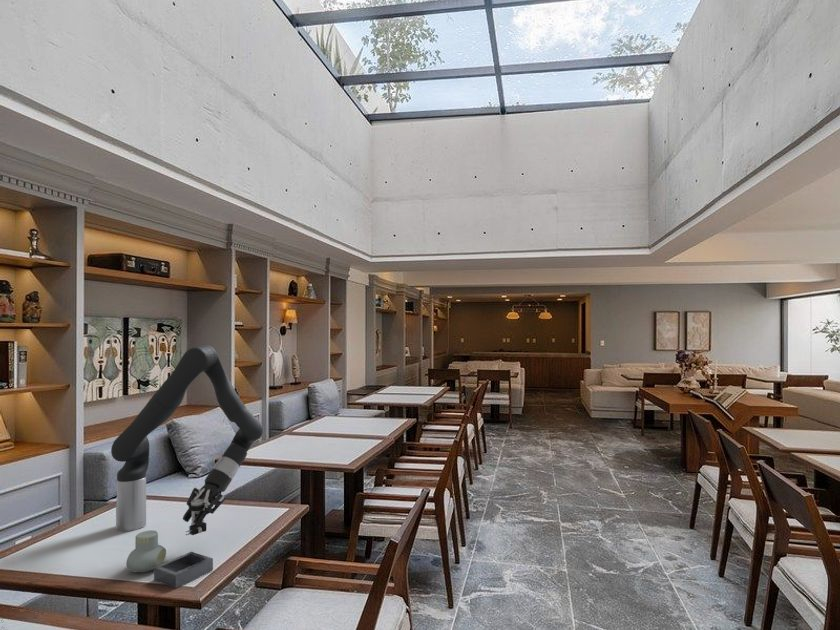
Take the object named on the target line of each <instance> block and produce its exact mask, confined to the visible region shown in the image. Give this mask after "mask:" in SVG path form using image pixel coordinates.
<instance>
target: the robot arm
mask: <svg viewBox="0 0 840 630" xmlns="http://www.w3.org/2000/svg"><path fill="white" fill-rule="evenodd" d="M203 372H204V374H206V376H207V377H208V378H209V380H210V381H211V384H212V386H213V389H214V390H213V391H214V393H215V397H216V401H217V402H218V405H219V407H220V409H221V410H222V412H223V413H224V415H225V417H226V418H227V419H228V420H229V422H230V423H234V424H235V425H236V426H237V427H238V430H236V431H237V432H236V433H235V435H234V436H233V439H232V440H231V442H230V444H229V446H228V447H227V448H226V450H225V451H224V452H223V454H222V455H221V457H220V458H219V459H218V460H217V461H216V463H215V464H214V466H213V467H212V468H211V470H210V471H209V473H208V474H207V476H206V477H205V479H204V485H203V486H201V488H197V487H194V488H193V489H192V491H191V493H190V496H189V498H188V500H187V502H186V505H187V506H188V505H189V504H190V503H191V501H193V500H196V499H203V500H204V501H203V504H204V506H203V507H202V511H200V512H199V513H198V515H197V516H196V518H195V519H194V521H193V522H194V523H195V524H196V525H199V524H200V523H201V522H202V521H203V520H205V518H206V516H207V515H209V514H214V513H215V512H216V511H217V509H218V508H220V506H221V505H222V504H223V502H224V501H226V496H224V495H223V494H222V493H224V492H226V490H227V489H228V487H230V486H229V485H230V483H232V481H233V479H234V478H235V477H236V474H237V473H238V471H239V469H240V467H241V466H242V464H243V462H244V461H245V460H246V457H247V455H248V451H249V449H250V448H251V446H252V445H253V443H254V442H257V441H258V440H259V439H260V438H262V436H263V433H264V432H263V431H264V429H263V427H262V425H261V422H260V421H259V420H258V418H257V417H255V415H253V413H252V412H251V411H249V410H248V408H247V407H246V406H245V404H244V402H243V401H242V399H241V398H240V396H239V395H238V392H237V391H236V390H235V387H234V386H233V385H232V382H231V380H230V379H229V376H228V375H227V372H226V370H225V368H224V366H223V363H222V361H221V358H220V357H219V354H218V352H217V351H216V349H215V348H214V347H213V346H211V345H209V344H200V345H196V346H192V347H190V348H189V349H187V350H186V351H185V352H184V353H183V355H182V356H181V358H180V359H179V362H178V363H177V365H176V367H175V368H174V370H172V372H171V374H170V375H169V376H168V378H166V379H165V380H164V382H163V383H162V384H161V386H160V387H159V388H158V389H157V390H156V391H155V392H154V393H153V395H152V396H151V397H150V399H149V400H148V401H147V403H146V404H145V406H144V407H142V409H141V410H140V411H139V413H138V414H137V416H136V417H135V418H134V420H133V421H132V422H131V423H130V424H129V425H128V426H127V427H126V428H125V429H124V430H123V432H121V433H120V434H119V435H118V436H117V437H116V438H115V439H114V441H113V443H112V446H111V449H110V452H111V456H112V459H114V460H115V461H117V462H121V463H122V462H124V464H123V466H122V467H121V468H120V469H119V470H118V472H117V473H116V501H115V517H116V518H115V526H116V531H117V530H118V531H119V532H129V531H130V532H131V531H136V530H138V529H141V528H143V526H144V527H145V526H146V525H147V471H148V469H149V463H150V442H149V441H150V440H149V438H148V436H149V435H150V434H151V433H152V432H153V431H155V430H156V429H157V428H159V427H160V426H162V425H163V424H164V423H166V422H167V421H168V420H169V419H170V418H171V417H172V416H173V414H174V413H175V412H176V411H177V409H178V408H179V407H180V406H181V404H182V402H183V400H184V397H185V394H186V392H187V389H188V388H189V386H190V385H191V384H192V383H193V381H194V380H195V379H196V378H197V377H198V376H199V375H200V374H201V373H203ZM191 519H192V511H190V510H189V507H188V509H187V510H186V511H185V513H184V515H183V516H182V520H183V521H184V522H186V523H189V521H190V520H191ZM203 522H204V521H203Z"/></svg>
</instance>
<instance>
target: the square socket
mask: <svg viewBox="0 0 840 630" xmlns="http://www.w3.org/2000/svg"><path fill="white" fill-rule="evenodd" d="M212 570H213V571H214V558H212V557H210V556H208V555H203V554H200V553H197V552H194V551H189V552H187V553H185V554H183V555H180V556H178V557H175V558H172V559H170V560H168V561H166V562H163V563H162V564H161V565H159V566H156V567H154V570H153V581H156V582H158V583H160V584H163V585H166V586H168V587H171V588H174V589H178V588H180V587H182V586H184V585H186V584H188V583H190V582H192V581H194V580H196V579H199V578H201V577H203V576H204V574H205V575H207V574H209V573H211V572H213V571H212ZM210 571H211V572H210ZM208 572H209V573H208ZM206 573H207V574H206ZM202 575H203V576H202ZM200 576H201V577H200Z"/></svg>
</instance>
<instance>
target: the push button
mask: <svg viewBox="0 0 840 630" xmlns="http://www.w3.org/2000/svg"><path fill="white" fill-rule="evenodd" d="M203 501H204V500H203V499H196V500H192V501H191V503H190V504H189V505H187V506H188V508H189V510H190V511H192V517H191V522H190V525H189V526H188V530H186V531H185V533H186V534H185V536H189V535H190V536H196V535H198V534H202V533H203V532H204V533H205V532H207V522H204V521H205V519H203V521H202V522H201V523H200V524H199V525H196V524H195V523H194V522H193V521H194V519H195V518H196V516H197V515H198V513H199V512H200V511H202V507H203V506H204V504H203Z"/></svg>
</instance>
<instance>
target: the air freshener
mask: <svg viewBox="0 0 840 630" xmlns="http://www.w3.org/2000/svg"><path fill="white" fill-rule="evenodd" d="M134 538H135V539H134V540H135V543H134V544H135V548H134V549H133V550H132V551H131V552H130V553H129V555H128V557H127V558H126V563H125V564H126V568H127V569H128V570H130V571H132V572H134V573H146V572H151V571H154V567H156V566H159V565H161V564H163V563H165V562H164V561H165V560H166V557H167V556H166V555H167V549H166V547H164V546H163V545H161V544H159V532H158V531H157V530H145V531H141V532H139V533H137V534H136V535H135V537H134Z"/></svg>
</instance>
